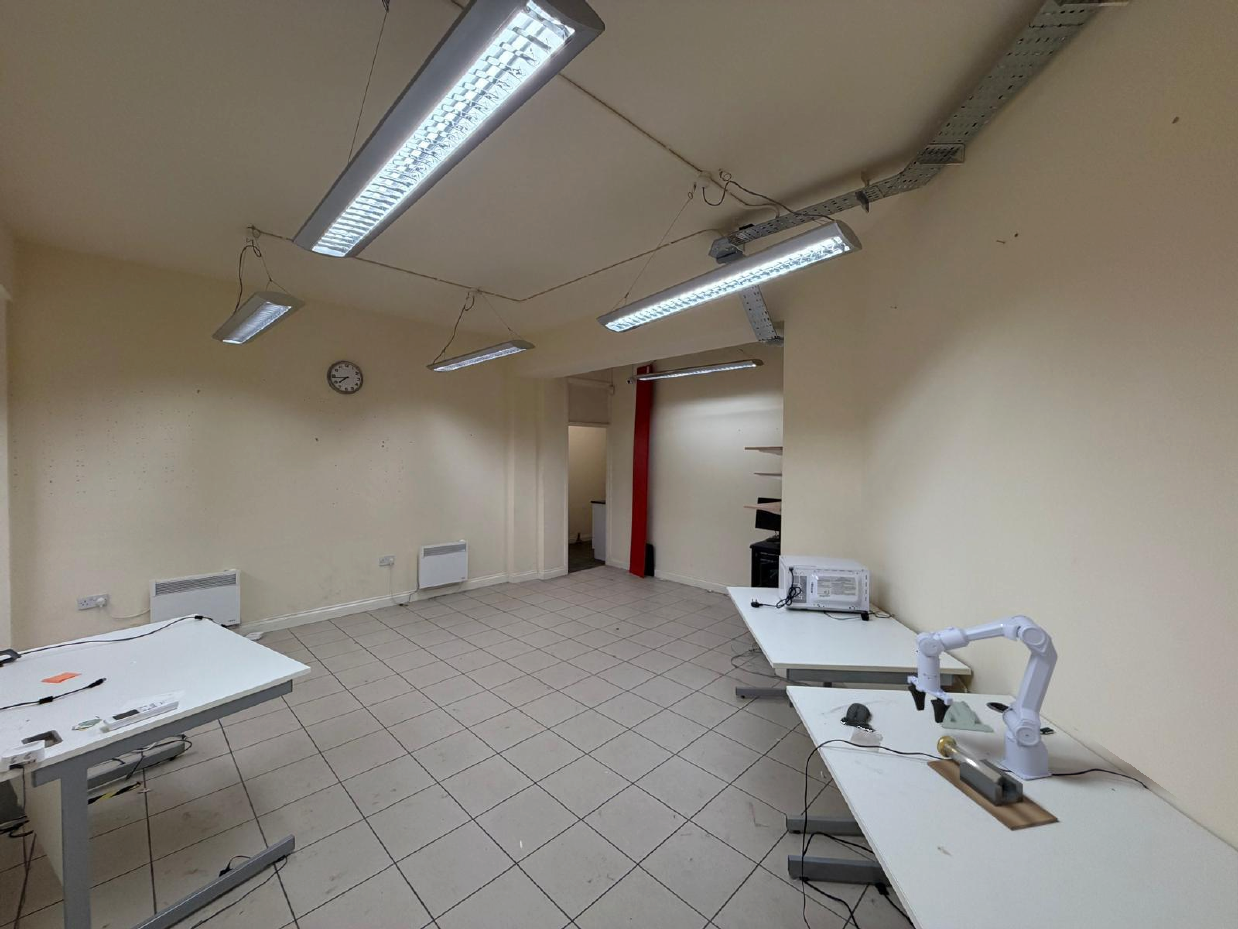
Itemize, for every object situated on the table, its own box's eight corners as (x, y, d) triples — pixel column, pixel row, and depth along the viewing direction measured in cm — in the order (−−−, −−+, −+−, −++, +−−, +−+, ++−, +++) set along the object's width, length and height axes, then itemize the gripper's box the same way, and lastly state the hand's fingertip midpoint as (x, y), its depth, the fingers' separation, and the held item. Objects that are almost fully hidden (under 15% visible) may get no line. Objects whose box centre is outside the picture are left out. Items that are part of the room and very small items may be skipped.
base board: (967, 758, 134) (967, 756, 134) (1057, 821, 110) (1057, 818, 110) (927, 764, 132) (927, 762, 132) (1011, 830, 108) (1011, 827, 108)
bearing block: (985, 775, 126) (985, 759, 126) (1023, 801, 116) (1022, 784, 116) (959, 779, 124) (959, 763, 124) (995, 806, 114) (995, 788, 114)
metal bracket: (925, 693, 161) (971, 697, 158) (923, 706, 163) (969, 710, 160) (945, 726, 148) (997, 731, 145) (943, 740, 149) (994, 745, 146)
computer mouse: (877, 714, 159) (877, 703, 159) (872, 734, 147) (872, 723, 147) (846, 705, 165) (846, 695, 165) (839, 724, 153) (839, 713, 153)
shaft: (952, 753, 134) (952, 733, 134) (1007, 791, 118) (1006, 769, 118) (935, 755, 133) (935, 736, 133) (988, 794, 117) (987, 772, 117)
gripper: (899, 663, 145) (900, 705, 145) (938, 685, 131) (938, 731, 131) (918, 661, 146) (918, 702, 146) (958, 683, 132) (959, 728, 132)
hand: (929, 716), depth 139 cm, fingers open, 6 cm apart
